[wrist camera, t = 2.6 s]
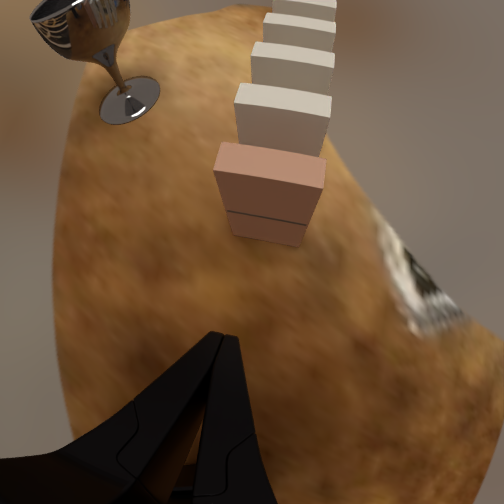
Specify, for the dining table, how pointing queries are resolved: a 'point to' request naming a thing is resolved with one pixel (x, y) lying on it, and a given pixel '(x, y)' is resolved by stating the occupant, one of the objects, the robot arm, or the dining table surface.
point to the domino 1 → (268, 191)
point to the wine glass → (97, 49)
